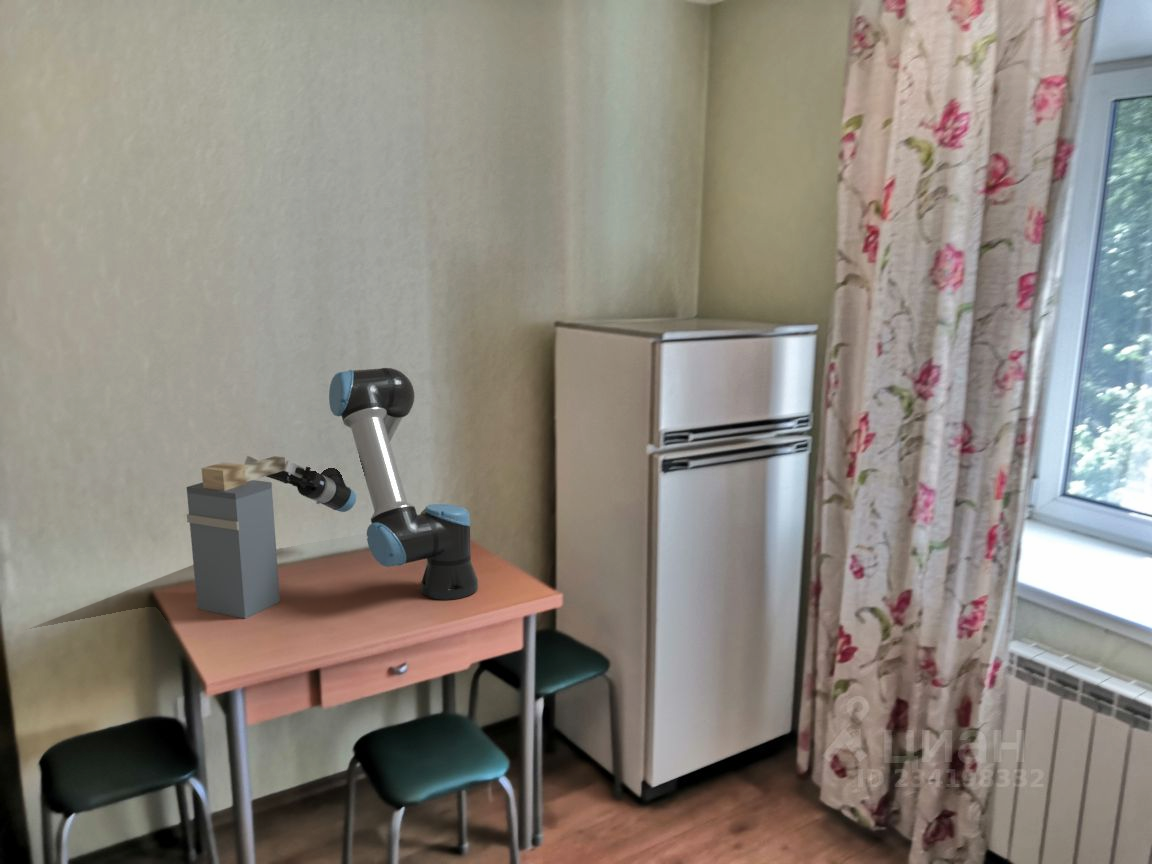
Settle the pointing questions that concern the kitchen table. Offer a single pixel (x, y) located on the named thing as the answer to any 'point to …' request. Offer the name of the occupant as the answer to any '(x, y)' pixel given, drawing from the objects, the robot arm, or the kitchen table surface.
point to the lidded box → (234, 548)
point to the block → (239, 473)
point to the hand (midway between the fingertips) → (266, 463)
